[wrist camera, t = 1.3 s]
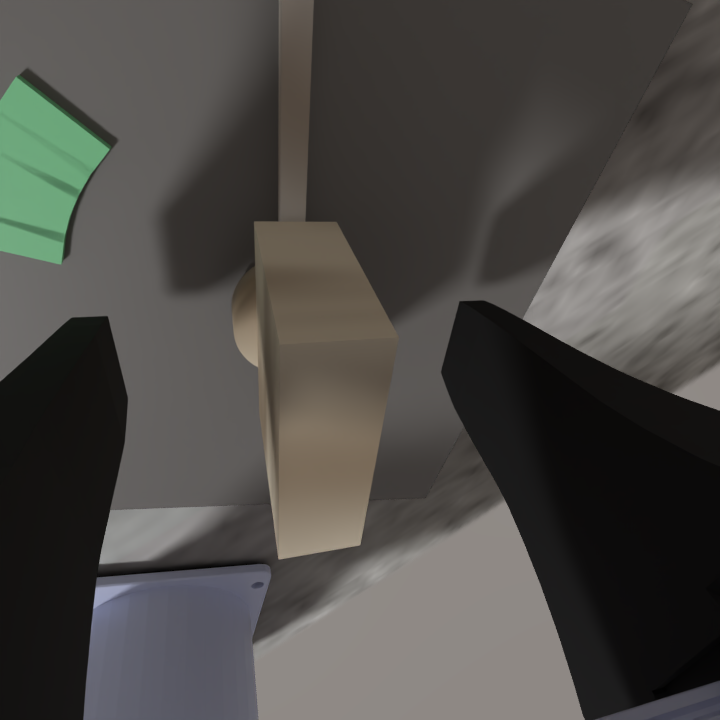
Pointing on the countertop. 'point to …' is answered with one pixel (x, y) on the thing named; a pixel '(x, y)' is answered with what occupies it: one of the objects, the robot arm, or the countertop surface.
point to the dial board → (323, 197)
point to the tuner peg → (312, 339)
